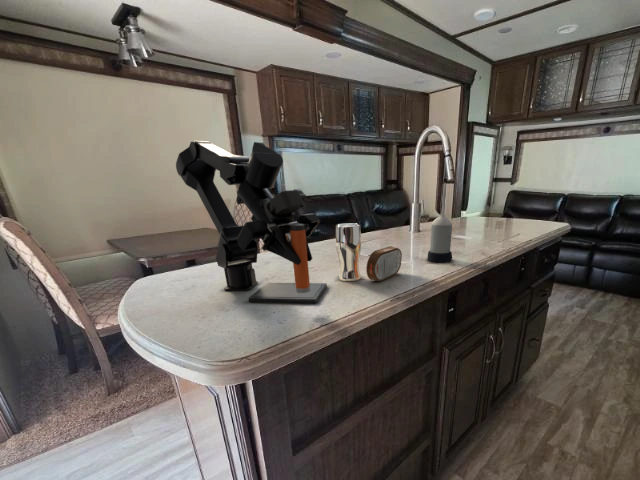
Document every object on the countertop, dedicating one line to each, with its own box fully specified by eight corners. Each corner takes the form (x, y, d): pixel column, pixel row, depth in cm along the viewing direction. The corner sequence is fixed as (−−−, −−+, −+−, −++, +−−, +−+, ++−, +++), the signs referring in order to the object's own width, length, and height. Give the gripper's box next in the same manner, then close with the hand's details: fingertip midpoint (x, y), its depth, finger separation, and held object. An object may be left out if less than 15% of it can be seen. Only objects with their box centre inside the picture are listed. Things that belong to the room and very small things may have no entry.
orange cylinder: (294, 293, 67) (287, 225, 62) (298, 288, 70) (292, 223, 65) (308, 293, 67) (302, 225, 62) (311, 288, 69) (306, 223, 64)
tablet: (248, 302, 74) (248, 297, 73) (268, 286, 85) (267, 282, 84) (316, 303, 72) (315, 298, 72) (326, 286, 83) (326, 282, 83)
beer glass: (363, 275, 93) (362, 223, 88) (360, 282, 87) (359, 226, 82) (340, 274, 94) (337, 223, 89) (335, 281, 88) (332, 226, 82)
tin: (394, 270, 97) (394, 243, 94) (403, 272, 95) (404, 244, 92) (365, 283, 86) (364, 252, 83) (375, 285, 84) (374, 254, 81)
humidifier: (455, 259, 109) (462, 182, 100) (445, 264, 103) (451, 183, 94) (434, 256, 114) (438, 182, 105) (423, 261, 108) (426, 183, 99)
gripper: (236, 174, 55) (288, 244, 53) (310, 175, 69) (353, 229, 67) (217, 219, 61) (263, 282, 60) (288, 211, 76) (327, 261, 74)
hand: (305, 261), depth 65 cm, fingers closed on orange cylinder, 3 cm apart
